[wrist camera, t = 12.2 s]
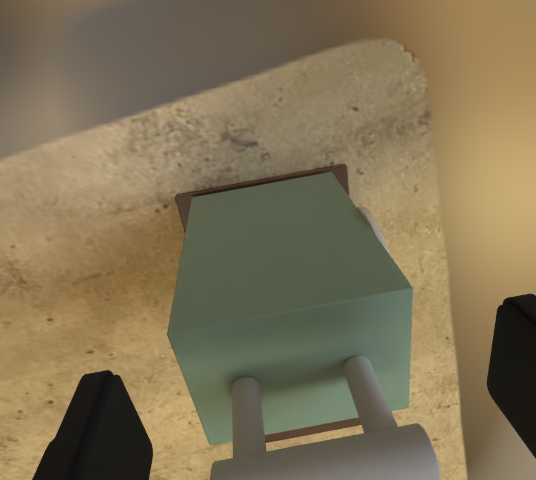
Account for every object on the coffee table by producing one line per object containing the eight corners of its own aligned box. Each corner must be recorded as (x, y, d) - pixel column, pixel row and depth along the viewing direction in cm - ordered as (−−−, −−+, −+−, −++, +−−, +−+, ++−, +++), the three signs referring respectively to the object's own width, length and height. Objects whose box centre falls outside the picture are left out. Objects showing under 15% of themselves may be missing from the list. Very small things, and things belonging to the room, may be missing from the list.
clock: (190, 194, 22) (138, 463, 9) (336, 167, 22) (508, 394, 9) (215, 285, 25) (206, 585, 12) (343, 261, 25) (476, 533, 12)
